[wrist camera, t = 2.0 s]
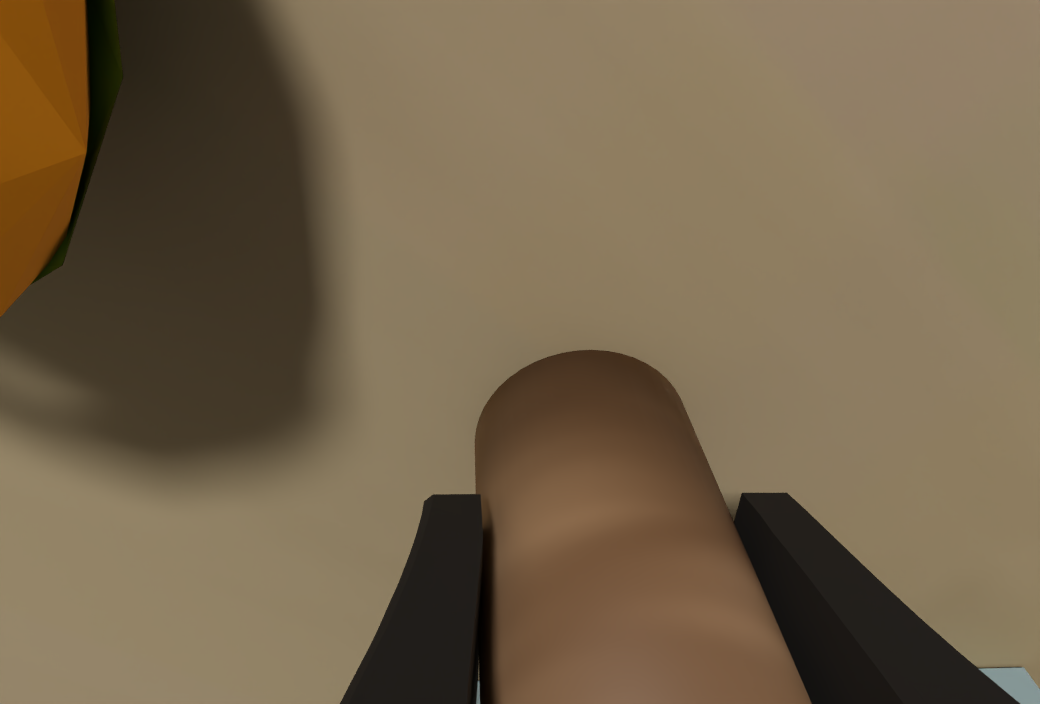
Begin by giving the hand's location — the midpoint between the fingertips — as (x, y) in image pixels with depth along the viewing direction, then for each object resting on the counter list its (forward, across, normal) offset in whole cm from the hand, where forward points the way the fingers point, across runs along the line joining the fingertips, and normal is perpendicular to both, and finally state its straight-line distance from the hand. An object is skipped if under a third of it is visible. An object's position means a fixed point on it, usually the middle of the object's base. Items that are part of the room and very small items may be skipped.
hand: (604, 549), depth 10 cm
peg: (+2, 0, 0) cm, 2 cm away
